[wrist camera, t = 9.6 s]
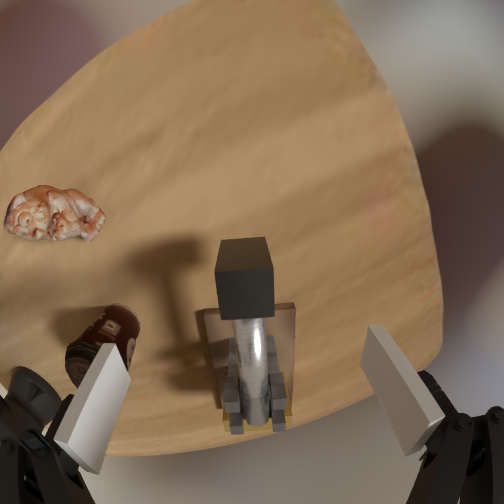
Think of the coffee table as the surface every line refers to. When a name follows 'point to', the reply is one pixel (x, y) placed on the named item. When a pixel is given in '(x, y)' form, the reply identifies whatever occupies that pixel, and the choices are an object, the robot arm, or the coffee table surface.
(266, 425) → the block
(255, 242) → the shaft
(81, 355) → the coffee cup
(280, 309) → the bearing block
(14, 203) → the figurine
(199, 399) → the coffee table surface
